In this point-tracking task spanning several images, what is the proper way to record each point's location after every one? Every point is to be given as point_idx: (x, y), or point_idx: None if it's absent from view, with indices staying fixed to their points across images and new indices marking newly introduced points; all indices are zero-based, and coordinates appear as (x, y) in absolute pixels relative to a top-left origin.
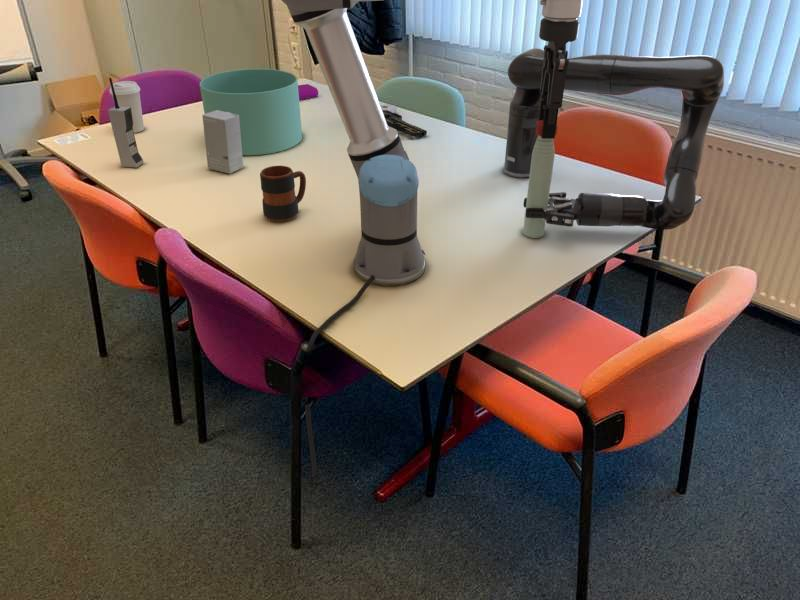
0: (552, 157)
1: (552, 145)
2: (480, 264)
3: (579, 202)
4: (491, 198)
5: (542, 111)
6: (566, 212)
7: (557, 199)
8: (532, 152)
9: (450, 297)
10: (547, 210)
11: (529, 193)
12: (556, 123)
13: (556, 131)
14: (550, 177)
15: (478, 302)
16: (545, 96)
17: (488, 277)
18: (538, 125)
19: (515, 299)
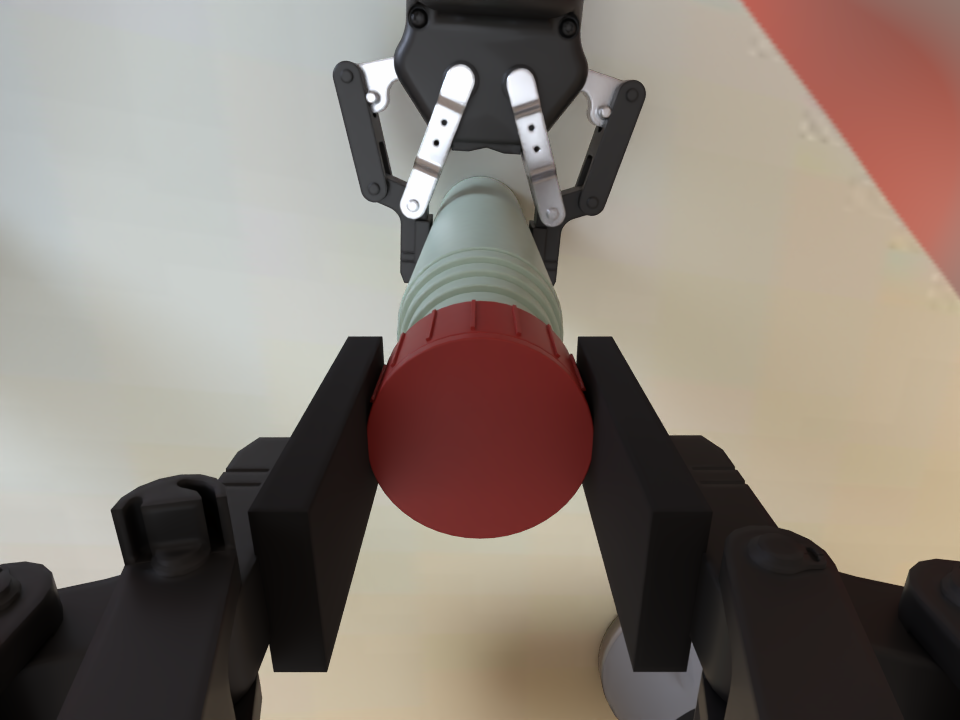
0: (539, 269)
1: (537, 305)
2: (702, 429)
3: (491, 14)
4: (164, 344)
5: (354, 541)
6: (565, 107)
7: (453, 138)
8: None
9: (876, 519)
10: (563, 209)
11: None
12: (646, 400)
13: (521, 319)
14: (521, 232)
15: (921, 452)
16: (252, 671)
17: (787, 413)
18: (522, 522)
19: (933, 348)
